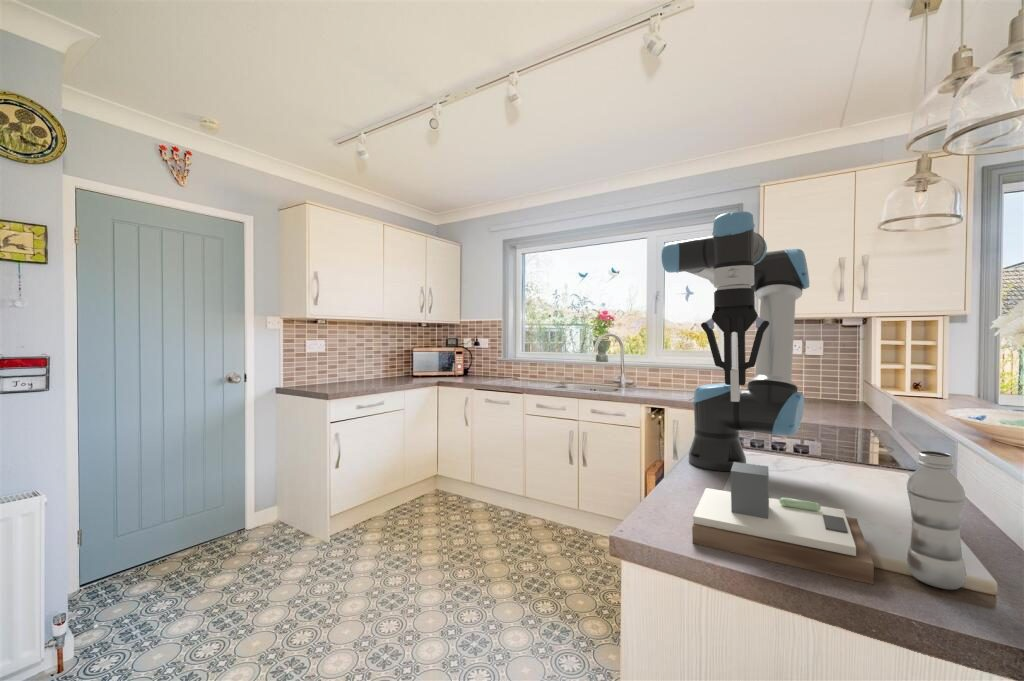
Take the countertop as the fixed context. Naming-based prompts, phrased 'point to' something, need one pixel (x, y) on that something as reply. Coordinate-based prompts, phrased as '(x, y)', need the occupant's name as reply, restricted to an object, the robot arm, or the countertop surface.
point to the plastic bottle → (936, 522)
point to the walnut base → (793, 551)
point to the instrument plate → (772, 513)
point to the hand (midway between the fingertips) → (735, 400)
